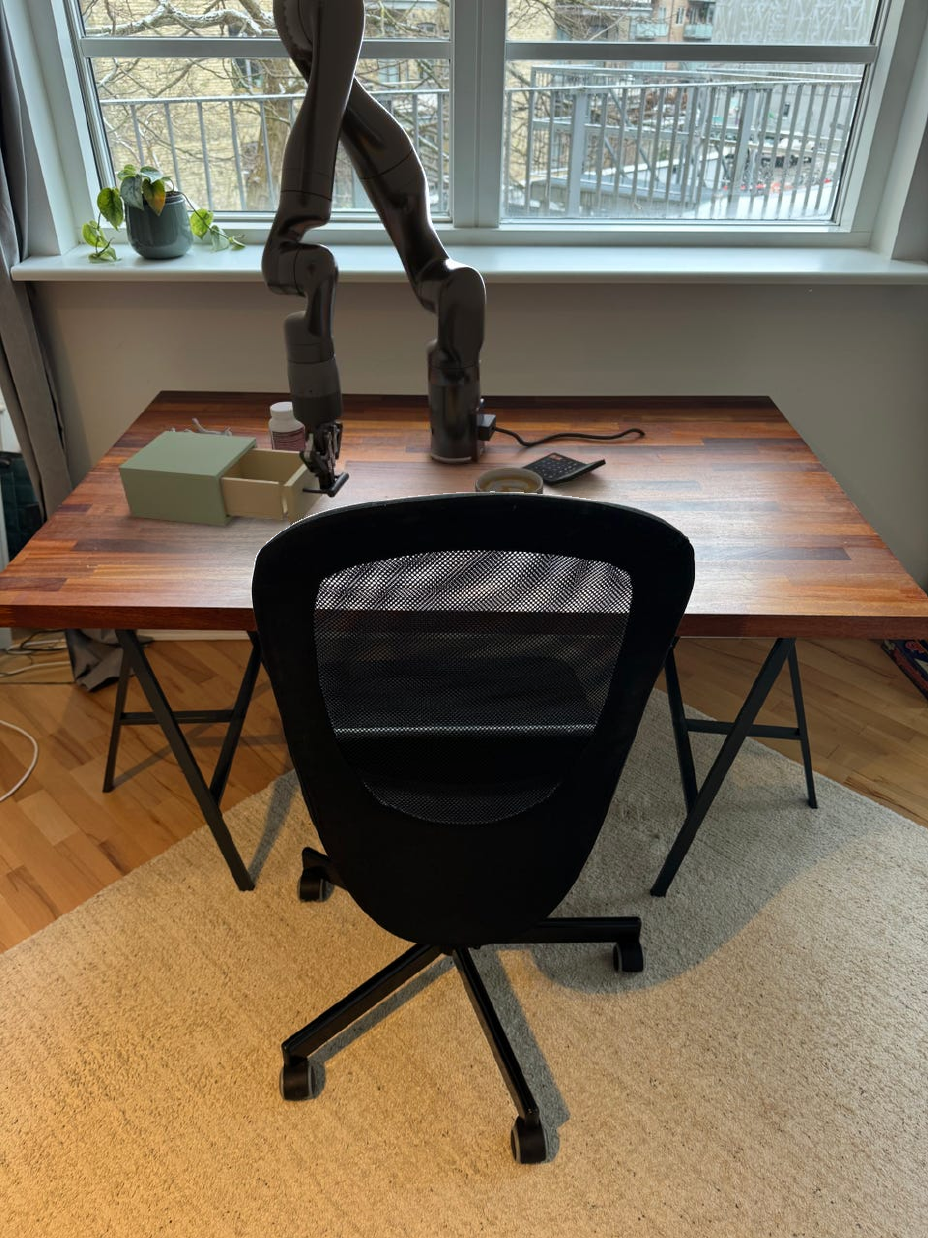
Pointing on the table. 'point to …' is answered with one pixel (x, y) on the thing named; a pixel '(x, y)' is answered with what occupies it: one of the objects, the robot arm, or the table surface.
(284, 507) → the drawer
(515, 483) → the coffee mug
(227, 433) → the soldier figure
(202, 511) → the cabinet
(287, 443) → the pill bottle
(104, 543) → the table surface
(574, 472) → the calculator
